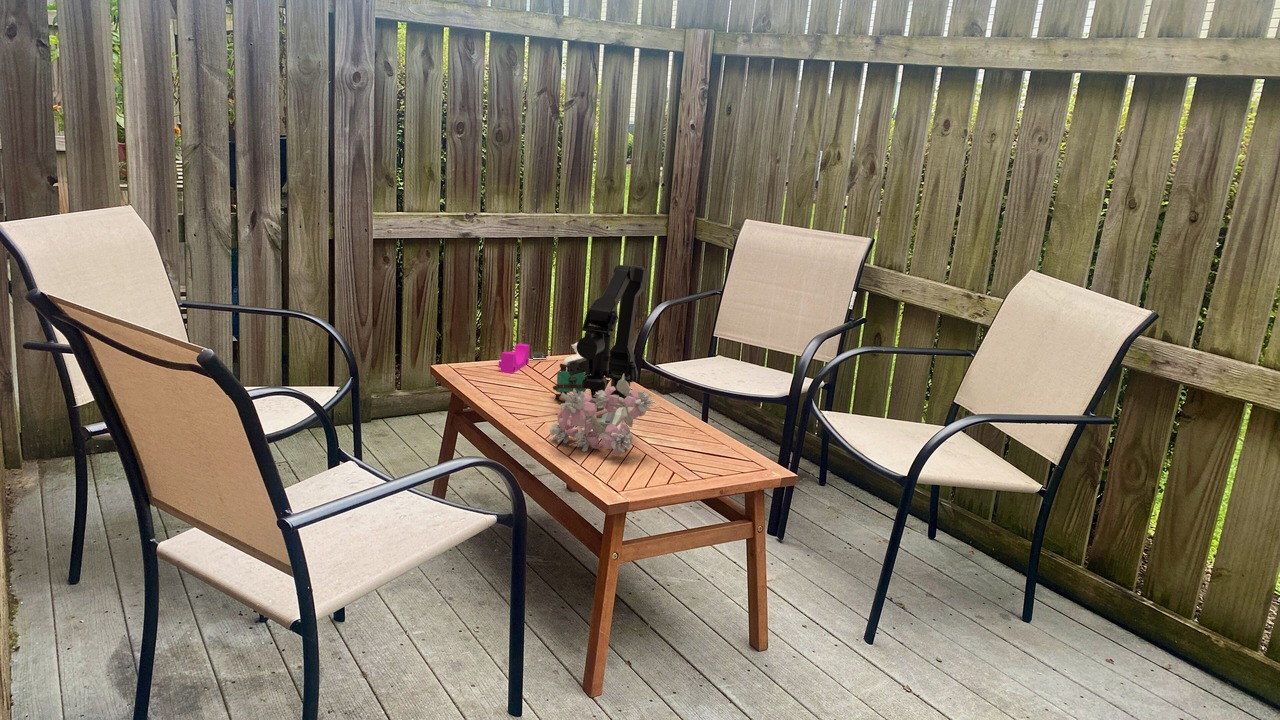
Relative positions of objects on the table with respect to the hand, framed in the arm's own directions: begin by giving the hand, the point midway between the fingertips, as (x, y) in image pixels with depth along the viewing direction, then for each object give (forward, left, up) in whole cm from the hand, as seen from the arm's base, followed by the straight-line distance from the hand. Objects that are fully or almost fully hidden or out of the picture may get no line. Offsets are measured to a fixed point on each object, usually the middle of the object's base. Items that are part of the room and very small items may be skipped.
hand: (595, 406), depth 267 cm
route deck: (+5, 0, -3) cm, 6 cm away
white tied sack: (-42, -9, -3) cm, 43 cm away
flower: (+17, +15, +8) cm, 24 cm away
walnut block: (+4, 0, -1) cm, 4 cm away
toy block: (-40, -31, -4) cm, 51 cm away
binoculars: (-17, -11, +1) cm, 20 cm away
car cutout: (-55, -21, -4) cm, 59 cm away
